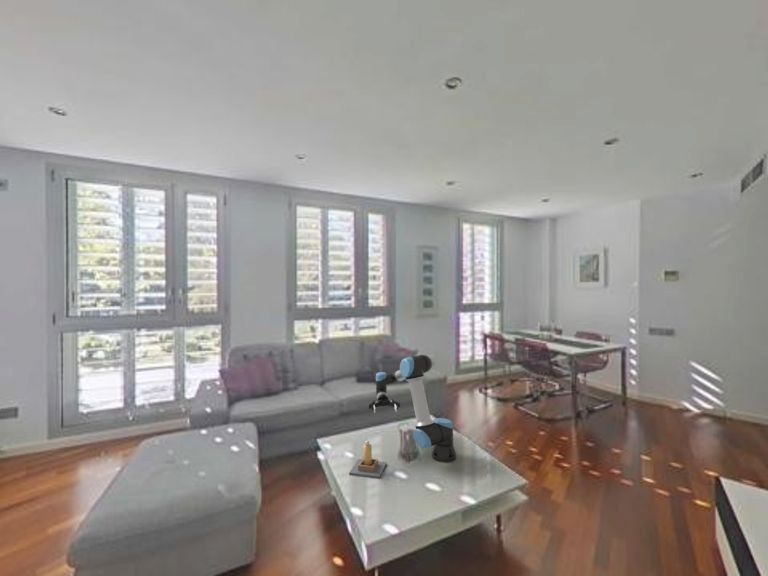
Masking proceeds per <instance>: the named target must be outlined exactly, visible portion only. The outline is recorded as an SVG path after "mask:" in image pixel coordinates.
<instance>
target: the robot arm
mask: <svg viewBox="0 0 768 576" xmlns="http://www.w3.org/2000/svg"><path fill="white" fill-rule="evenodd" d="M432 366H433V362H432V359H431V358H430V357H429V356H428V355H427V354H426V355H425V354H419V355H415V356H408V357H404V358H403V359H402V360H401V361H400V364H399V370H396V371H394V372H391V373H386V372H384V371H379V372H376V374H375V387H376V388H375V396H376V400H377V401H376V400H372V402H370V403H369V404H368V409H369V410H371V411H373V413H374V414H376V409H377V408H380V407H386V406H387V407H393V408H394V411H395V413H397V412H398V409H399V408H401V403H400V402H398V401H397V400H395V399H391V400H389V397H388V392H387V391H388V390H387V388H388V386H389V385H392V384H398V383H402V382H403V381H404V380H405V381H406V382H408V385H409V389H410V395H411V399H412V403H413V410H414V414H415V419H416V423H415V425H414V427H415V429H414V431H413V433H412V437H413V439H414V442H415V444H416V445H417V446H418V447H419V448H421V449H427V448H431V447H432V450H431V457H432V459H434V460H435V461H437V462H441V463H450V462H454V461H455V460H456V459H457V451H456V448H455V445H454V426H453V422H452V420H450V419H449V418H444V417H437V418H434V420H432V418H431V414H430V409H429V406H428V400H427V395H426V391H425V386H424V383H423V382H424V381H423V379H424V377H425V376H424V374H426V373H428V372H430V371H431V370H432V368H433V367H432Z"/></svg>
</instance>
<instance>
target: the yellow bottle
mask: <svg viewBox="0 0 768 576" xmlns="http://www.w3.org/2000/svg"><path fill="white" fill-rule="evenodd" d="M372 451H373V450H372V443H371V444H370V440H365V441H364V443H363V445H362V453H363V454H362V455H363V456H362V459H363V465H367V466H372V459H373V457H372V455H373V454H372V453H373V452H372Z"/></svg>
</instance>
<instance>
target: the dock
mask: <svg viewBox="0 0 768 576" xmlns="http://www.w3.org/2000/svg"><path fill="white" fill-rule="evenodd" d="M386 466H387V462H385V461H379V459H378V458H372V466H367V465H363V458H362V459H360V458H358V459H357V461H356V462H355V463H354V464H353V466H352V468H351V470H350V471H349V476H356V477H357V476H359V477H365V478H375V479H380V478H381V476H382V474H383V472H384V470H385V468H386Z"/></svg>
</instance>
